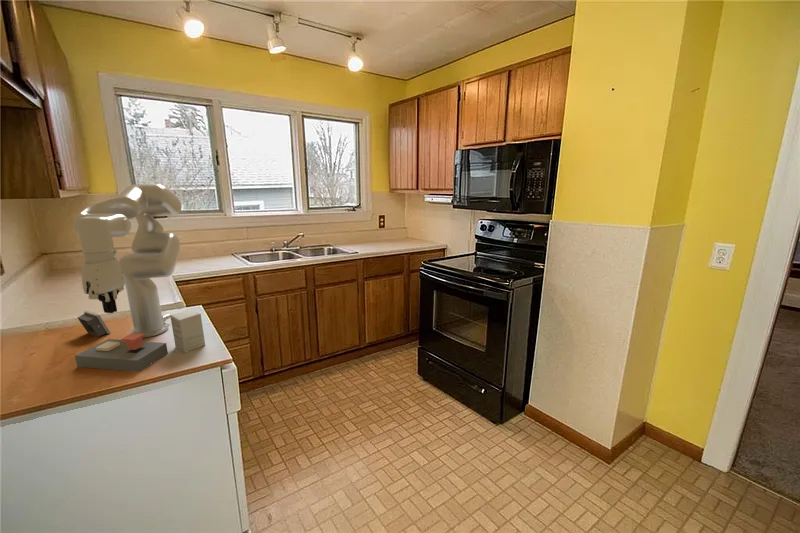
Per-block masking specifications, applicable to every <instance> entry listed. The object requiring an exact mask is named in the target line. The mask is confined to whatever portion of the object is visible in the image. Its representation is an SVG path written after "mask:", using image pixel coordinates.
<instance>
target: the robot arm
mask: <svg viewBox="0 0 800 533" xmlns="http://www.w3.org/2000/svg"><path fill="white" fill-rule="evenodd" d="M181 211H182V203H181V201H180V198H179V197H178V196H177V195H176V194H174V192H173V191H172V190H171V189H169V188H168V187H166V186H165V185H162V184H158V183H157V184H155V183H154V184H153V183H152V184H151V183H150V184H147V183H145V184H144V183H135V184H131V185H128V186H127V187H126V188H125V189H123V191H121V192H120V193H119V194H118V195H117V196H116V197H113V198H109V199H106V200H103V201H100V202H97V203H94V204H92V205H88V206H87V207H85V208H83V209H82V210H81V211H80V212H79V213H78V214H77V215H76V216H75V217H74V220H73V226H72V227H73V230H74V231H75V233H77V235H78V236H79V240H80V241H79V242H80V245H81V250H82V251H81V252H82V254H83V256H82V257H83V261H84V262H83V263H81V274H80V276H81V283H82V289H83V293H84V294H86V295H88V300H98V301H99V302H101V304H102V309H103V312H104V314H114V313H117V312H118V309H117V302H116V300H117V299H118V295H119V293H121V292H122V291H123V290H125V289H126V293H127V294H126V296H127V301H128V305H129V311H130V317H131V321H132V327H133V328H132V329H131V330H130V331H129V333H128V335H130V334H132V333H141V334H145V337H144V338H143V339H145V338H152V337H155V336H158V335H161V334H162V333H165V332H166V331H168V329H169V324H168V323H166V321H167V320H169V319H171V317H170V315H171V314H170V313H166V314H165V315H163V314H162V308H161V302H160V297H159V289H158V287H157V285H156V283H155V282H154V281H153V280H152V279H154V278H155V279H156V278H158V279H159V278H168V277H170V276H172V275H173V273H175V269H176V267H177V261H178V258H179V255H180V252H181V251H180V250H181V243H180V239H179V237H178V235H176V234H175V233H172V232H164V227H163V225H162V224H161V223H160V222H159V221H158V220H157V219H156V218H154V217H167V216H168V217H169V216H171V217H175V216H178V215H180V214H181ZM131 219H136V222H137V225H138V226H137V230H136V232H135V235H134V237H133V240H132V242H131V252H132V253H128V254H124V255H123V256H122V257H120V258H119V259H118V258H117V256H116V255H117V253H118V251H117V250H116V249H115V247H114V241H113V238H119V237H124V236H126V235H127V234H129V232H130V231H131V229H132V223H131V221H130V220H131Z"/></svg>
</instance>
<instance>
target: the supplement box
mask: <svg viewBox="0 0 800 533" xmlns="http://www.w3.org/2000/svg"><path fill="white" fill-rule="evenodd" d="M170 317H171V318H170V322H171V328H172V329H171V330H172V333H173V335H172V336H173V340H174V341H173V342H174V346H175V348H177V349H179V350H180V351H181V352H183V353H188V352H190V351H193V350H196V349H198V348H201V347H204V346H205V345H206V342H205V336H204V329H203V328H204V327H203V321H202V313H200V312H197V311H195V310H193V309H191V308H190V309H186V310H184V311H180V312H176V313H173V314H170Z"/></svg>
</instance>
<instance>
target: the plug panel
mask: <svg viewBox="0 0 800 533" xmlns="http://www.w3.org/2000/svg"><path fill="white" fill-rule="evenodd" d="M108 341H109V342H120V345H119V346H117V347H116V348H114V349H112V350H110V351H99V350H96V347H98V346H100V345H102V344H104V343H106V342H108ZM142 342H143V346H142V347H140V348H138V349H136V350H132V349H127V345H126V342H122V340H121V339H117V338H116V339H113V338H108V339H105V340H103V341H102V342H99V343H97V344H95V345H93V346H91V347H89V348H87V349H85V350H84V351H80V352H79V353H77V354H75V355H74V358H75V359H74V360H75V363H76V366H77V368H87V369H88V368H89V369H99V370H101V369H102V370H111V369H112V371H125V372H135V373H141V371H143V370H144V369H147V368H148V367H149V366H151V365H152V364H154V363H155V362H157V361H158V359H159V358H160V359H161V357H162V356H163V357H165V356H166V355H168V354H169V353H168V347H167V342H159V341H144V340H142ZM164 355H165V356H164ZM163 357H162V358H163ZM160 359H159V360H160ZM156 360H157V361H156ZM154 361H155V362H154ZM153 362H154V363H153ZM151 363H152V364H151ZM150 364H151V365H150ZM147 366H148V367H147Z"/></svg>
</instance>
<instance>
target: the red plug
mask: <svg viewBox="0 0 800 533" xmlns="http://www.w3.org/2000/svg"><path fill="white" fill-rule="evenodd" d="M144 337H145V334H141V333H132V334H128V335H127V336H124V337H122V338H121V339H120V340H122V342H126V345H127V349H132V350H136V349H138V348H140V347H142V346H143V342H142V341H143V339H145V338H144Z"/></svg>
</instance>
